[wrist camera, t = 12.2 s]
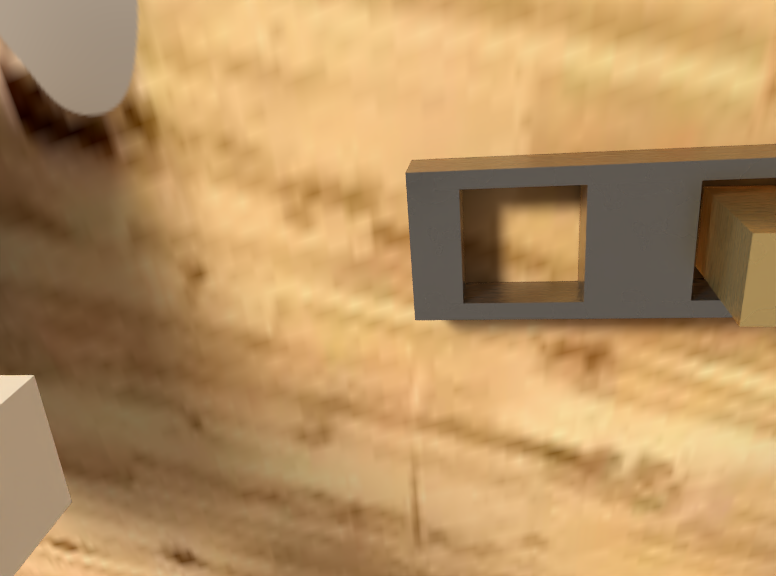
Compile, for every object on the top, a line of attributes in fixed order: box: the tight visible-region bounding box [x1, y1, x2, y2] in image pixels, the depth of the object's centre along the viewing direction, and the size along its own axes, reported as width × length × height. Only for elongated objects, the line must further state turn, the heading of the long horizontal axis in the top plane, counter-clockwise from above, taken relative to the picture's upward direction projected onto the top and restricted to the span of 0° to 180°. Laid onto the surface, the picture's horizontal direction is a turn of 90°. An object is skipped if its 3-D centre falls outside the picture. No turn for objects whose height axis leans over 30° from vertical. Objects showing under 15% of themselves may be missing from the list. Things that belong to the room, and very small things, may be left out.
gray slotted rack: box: [406, 144, 776, 320], centre depth 38 cm, size 24×8×3 cm, turn 94°
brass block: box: [695, 185, 776, 327], centre depth 35 cm, size 4×4×8 cm
